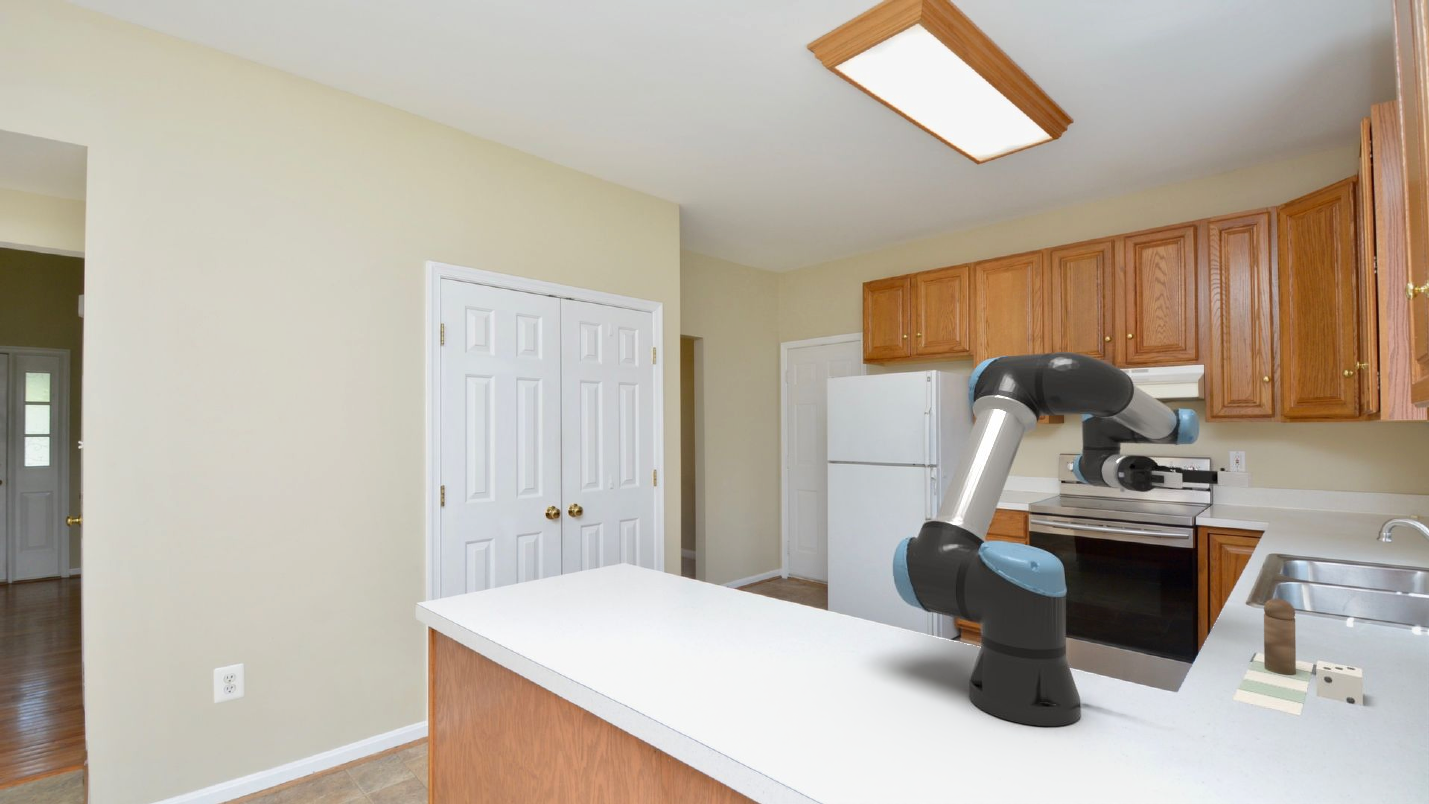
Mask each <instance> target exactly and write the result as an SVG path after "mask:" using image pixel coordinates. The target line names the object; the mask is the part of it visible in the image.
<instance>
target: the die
mask: <svg viewBox="0 0 1429 804" xmlns="http://www.w3.org/2000/svg"><path fill="white" fill-rule="evenodd" d="M1316 665H1317V667H1316V675H1315V676H1316V697H1320V698H1324V699H1330V700H1334V701H1338V702H1343V703H1349V704H1351V705H1358V706H1362V707H1363V706H1364V693H1363V692H1364V690H1363V685H1364V684H1363V669H1362V668H1359V667H1356V666H1355V667H1354V666H1349V665H1345V664H1344V665H1343V664H1337V663H1332V662H1328V661H1323V660H1322V661H1321V660H1317V662H1316Z"/></svg>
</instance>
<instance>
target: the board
mask: <svg viewBox="0 0 1429 804" xmlns="http://www.w3.org/2000/svg"><path fill="white" fill-rule="evenodd" d="M1249 663H1250V666H1249V667H1248V669H1247V672H1246V673H1245V675H1244V677H1243V679H1242V681H1241V683H1240V684H1239V686H1238V688H1237V690H1236V691H1235V694H1234V695H1233V698H1232V701H1235V702H1239V703H1244V704H1249V705H1251V706H1255V707H1256V706H1257V707H1262V708H1266V709H1269V710H1273V711H1278V712H1281V713H1287V714H1290V715H1295V716H1298V717H1301V715H1302V711H1303V707H1304V703H1305V700H1306V699H1305V698H1306V695H1307V691H1308V689H1309V688H1308V687H1309V684H1310V680H1311V676H1312V675H1313V676H1316V667H1317V664H1314V663H1313V662H1312V663H1311V662H1306V661H1302V660H1297V659H1296V674H1295V675H1282V674H1277V673H1274V672H1271V671H1268V670H1266V669H1265V668H1264V653H1261V652H1260V653H1259V652H1254V653H1253V655H1252V657H1251V658H1250V661H1249Z"/></svg>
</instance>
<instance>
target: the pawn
mask: <svg viewBox="0 0 1429 804" xmlns="http://www.w3.org/2000/svg"><path fill="white" fill-rule="evenodd" d="M1263 611H1264V614H1263V633H1264V634H1263V637H1264V638H1263V639H1264V640H1263V642H1264V643H1263V648H1264V649H1263V654H1264V668H1265V669H1266V670H1268V671H1271V672H1274V673H1277V674H1282V675H1295V674H1296V660H1297V655H1296V653H1297V651H1296V648H1297V647H1296V618H1295V616H1296V610H1295V607H1294V606H1293V605H1292V604H1291V603H1290V602H1289V601H1287V600H1285V599H1282V598H1271V599H1268V600H1267V601H1266V602H1265V604H1264V605H1263Z"/></svg>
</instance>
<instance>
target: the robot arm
mask: <svg viewBox="0 0 1429 804" xmlns="http://www.w3.org/2000/svg"><path fill="white" fill-rule="evenodd" d="M968 388H969V391H968V392H967V395H968V402H969V404H970V406H971V408H972V412H973V415H974V417H975V418H976V420H975V422H974V424H973V427H972V429H971V432H970V434H969V437H968V439H967V441H966V444H965V446H964V448H963V451H962V453H961V456H960V458H959V460H958V463H957V465H956V467H955V470H954V473H953V475H952V477H951V480H950V482H949V485H948V487H947V490H946V492H945V494H944V497H943V499H942V500H941V501H942V502H941V504H940V506H939V509H938V511H937V514H936V516H935V518H931V519H927V520H926V521H924V522H923V523H922V526H921V528H920V530H919V533H918V535H917V536H916V537H915V536H908V537H906V538H905V539H902V540H901V541H899V543H898V545H897V547H896V548H895V552H894V554H893V559H892V577H893V582H894V585H895V590H896V591H897V593H898V595H899V597H900V598H901V599H902V600H903V602H905V603H906V604H907V605H909V606H912V607H914V608H918V609H920V610H923V611H924V612H927V613H934V614H938V615H942V616H946V617H950V618H951V617H952V618H955V619H959V620H962V621H963V620H964V621H967V622H971V623H975V624H978V625H980V649H979V651H978V655H977V658H976V661H975V663H974V666H973V668H972V672H971V675H970V677H969V681H968V682H969V683H968V685H969V686H968V687H969V688H968V690H969V693H968V694H969V695H968V697H969V699H970V701H971V702H972V703H973V704H974V705H975V706H976V707H978V708H979V710H982V711H984V712H985V713H988V714H990V715H993V716H995V717H997V718H1000V719H1004V720H1007V721H1010V722H1015V723H1020V724H1023V725H1024V724H1025V725H1031V726H1039V727H1041V726H1043V727H1055V726H1056V727H1058V726H1066V725H1070V724H1072V723H1075V722H1077V721H1078V720H1080V717H1081V715H1082V713H1081V712H1082V710H1081V709H1082V708H1081V704H1082V703H1081V696H1080V694H1079V690H1078V689H1077V685H1076V682H1075V679H1074V676H1073V674H1072V670H1071V669H1070V666H1069V662H1068V660H1067V617H1066V616H1067V591H1068V589H1067V585H1066V578H1065V567H1064V565H1063V563H1062V561H1061V560H1060V558H1058V557H1057V556H1056V555H1054V554H1053V553H1051V552H1049V551H1046V550H1044V549H1042V548H1038V547H1035V546H1031V545H1027V544H1024V543H1019V542H1009V541H1006V540H1005V541H1004V540H988V541H987V540H986V537H987V533H988V531H989V528H990V526H991V523H992V520H993V518H994V515H995V512H996V510H997V507H998V503H999V501H1000V499H1001V496H1002V493H1003V490H1004V488H1005V486H1006V483H1007V480H1008V477H1009V474H1010V471H1011V469H1012V466H1013V464H1014V460H1015V458H1016V456H1017V453H1018V450H1019V448H1020V445H1021V442H1022V439H1023V437H1024V435H1028V434H1030V433H1031V432H1033V431H1034V430H1035V429H1036V428H1037V424H1038V422H1039V420H1040V418H1041V416H1065V415H1066V416H1067V415H1069V416H1070V415H1081V428H1082V429H1081V432H1082V433H1081V435H1082V437H1081V438H1082V450H1081V452H1082V453H1081V454H1079V455H1078V456H1076V457H1075V460H1074V462H1073V464H1072V472H1073V474H1074V476H1075V478H1076V479H1077V480H1078V481H1079V482H1081V483H1083V484H1087V485H1091V486H1094V487H1101V488H1109V489H1110V488H1111V489H1119V492H1121V493H1124V492H1126V491H1132V492H1140V493H1147V492H1150V491H1152V490H1154V489H1155V488H1156V487H1165V488H1172V489H1183V483H1185V484H1186V483H1188V484H1189V483H1190V484H1191V483H1192V484H1205V485H1207V484H1211V485H1217V486H1223V487H1230V488H1231V487H1232V488H1243V489H1253V486H1252V485H1253V483H1252V481H1253V480H1252V478H1253V476H1252V473H1248V472H1235V471H1231V470H1230V471H1229V470H1225V469H1226V468H1225V467H1220V470H1206V469H1205V470H1202V469H1187V468H1182V467H1180V466H1177V467H1176V466H1175V467H1174V466H1167V465H1158V463H1157V462H1156V461H1155V459H1153V458H1152V457H1149V456H1146V455H1133V454H1132V455H1131V454H1121V449H1122V448H1121V444H1139V445H1141V444H1143V445H1145V444H1146V445H1147V444H1149V445H1151V444H1152V445H1157V444H1158V445H1175V446H1179V445H1192V444H1194V443H1196V441H1197V440H1198V437H1199V436H1200V435H1199V434H1200V420H1199V417H1198V413H1197V412H1196V411H1195V410H1193V409H1191V408H1187V409H1186V408H1171V407H1168V405H1166V404H1164V403H1162V402H1161V401H1159V400H1158V399H1156V398H1154V397H1153V396H1152V395H1150V394H1149V393H1147V392H1145V391H1144V390H1142V389H1141V388H1139V387H1137V386H1136V385H1135V384H1134V381H1133V379H1132V378H1131V377H1130V375H1129V374H1127V372H1126V371H1124V370H1122V369H1120V368H1118V367H1117V366H1115V365H1113V364H1111V363H1109V362H1106V361H1104V360H1101V359H1099V358H1095V357H1092V356H1089V355H1085V354H1083V353H1082V354H1080V353H1077V352H1076V353H1075V352H1067V351H1057V352H1048V353H1036V354H1025V355H1024V354H1023V355H1002V356H998V357H993V358H988V359H985V360H983V361H982V362H980V363H979V364H978V365H977V366H976V367H975V369H974V370H973V371H972V373H971V376H970V377H969V383H968Z"/></svg>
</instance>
